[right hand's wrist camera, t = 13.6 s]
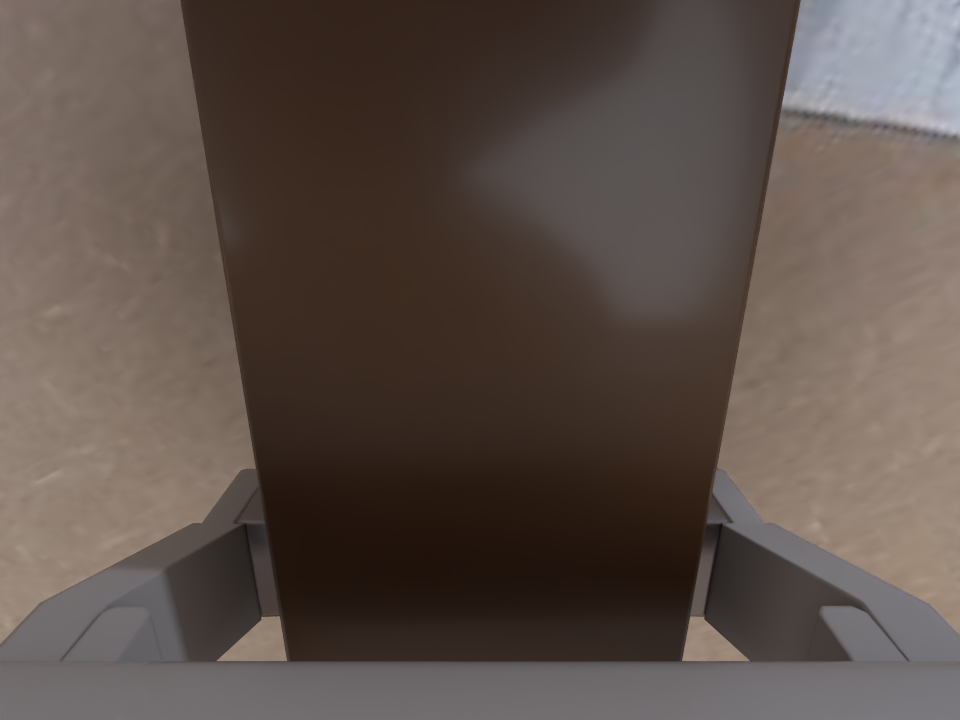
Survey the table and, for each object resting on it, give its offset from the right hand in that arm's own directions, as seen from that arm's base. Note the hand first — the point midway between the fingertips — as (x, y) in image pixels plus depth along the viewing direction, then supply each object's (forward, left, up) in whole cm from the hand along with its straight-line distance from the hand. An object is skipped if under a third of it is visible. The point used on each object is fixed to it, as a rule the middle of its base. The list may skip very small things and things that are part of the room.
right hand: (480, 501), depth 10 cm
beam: (+21, +23, -3) cm, 31 cm away
